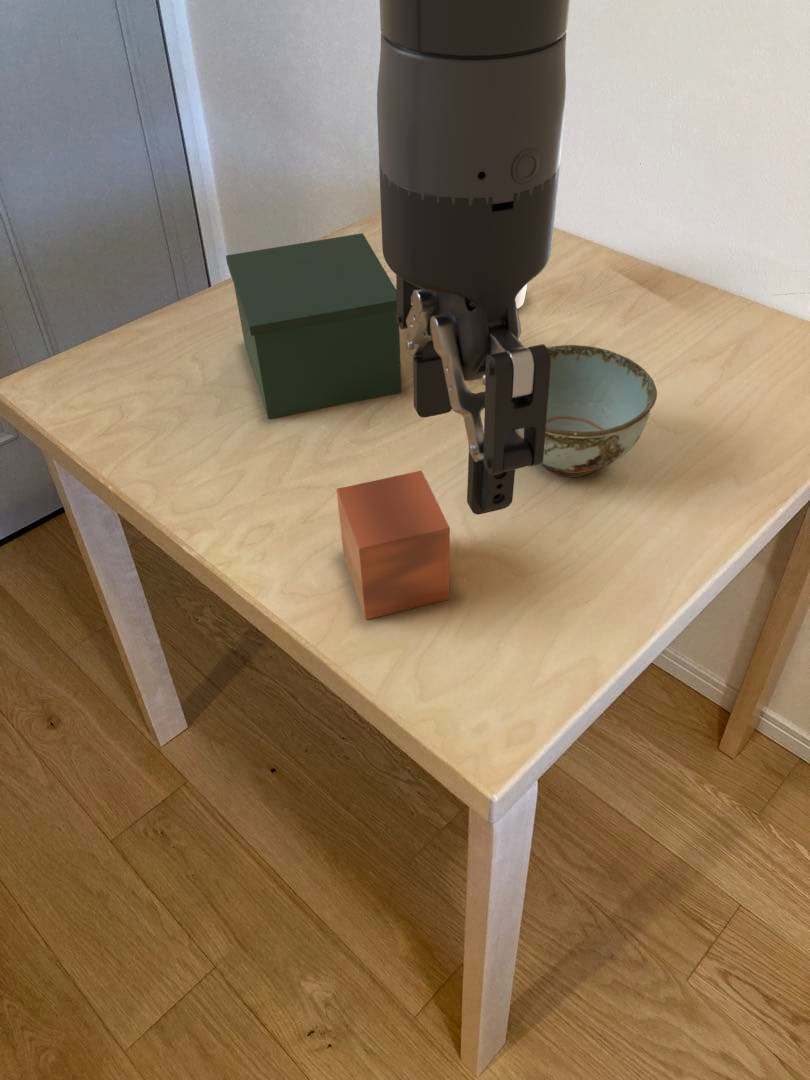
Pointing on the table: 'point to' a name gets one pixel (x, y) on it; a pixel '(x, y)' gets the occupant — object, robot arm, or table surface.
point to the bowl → (593, 408)
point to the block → (394, 543)
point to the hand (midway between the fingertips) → (460, 457)
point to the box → (318, 323)
